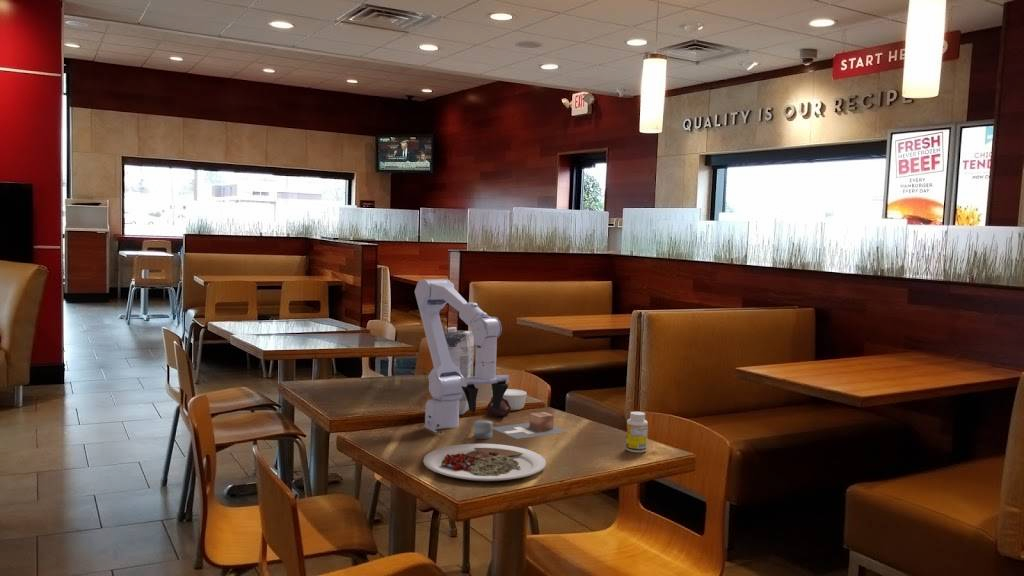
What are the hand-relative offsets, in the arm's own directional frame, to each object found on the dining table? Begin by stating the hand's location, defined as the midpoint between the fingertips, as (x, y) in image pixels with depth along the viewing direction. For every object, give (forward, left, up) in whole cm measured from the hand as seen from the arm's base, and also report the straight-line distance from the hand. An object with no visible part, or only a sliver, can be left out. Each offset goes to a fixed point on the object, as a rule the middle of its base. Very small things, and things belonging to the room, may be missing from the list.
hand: (484, 410), depth 217 cm
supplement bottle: (+32, -27, -9) cm, 43 cm away
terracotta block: (+20, +1, -7) cm, 22 cm away
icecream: (+18, +20, -9) cm, 28 cm away
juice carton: (+10, +34, -9) cm, 36 cm away
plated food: (-12, -21, -9) cm, 26 cm away
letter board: (+16, +1, -8) cm, 18 cm away
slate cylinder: (0, 0, -8) cm, 9 cm away
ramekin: (+29, +32, -9) cm, 44 cm away
